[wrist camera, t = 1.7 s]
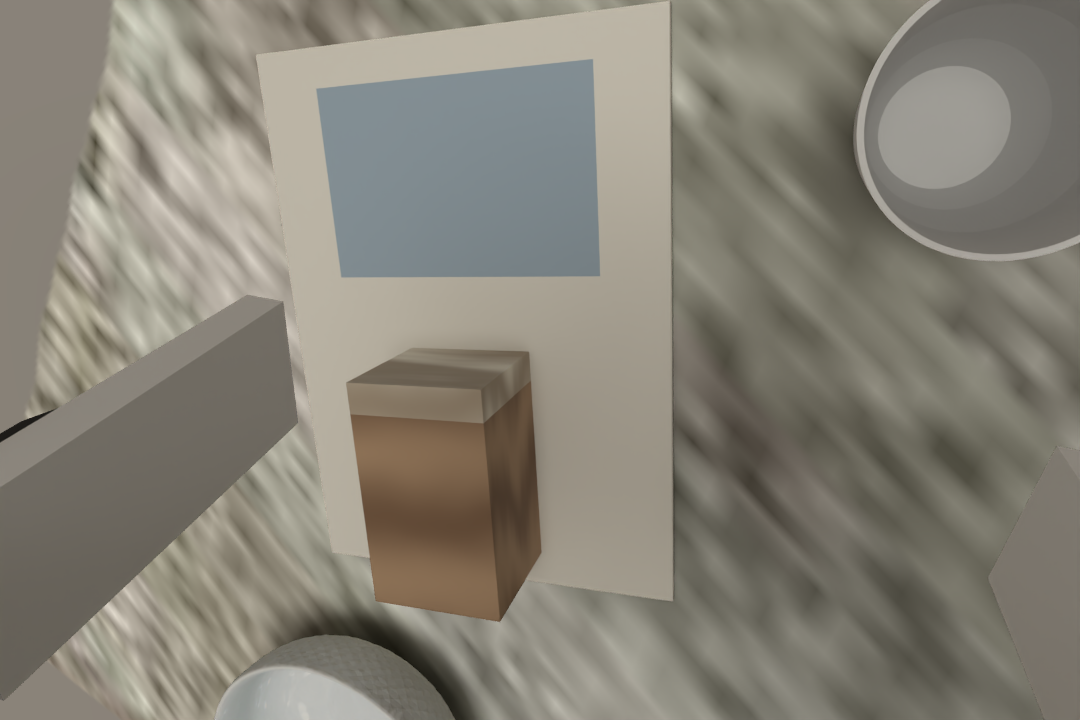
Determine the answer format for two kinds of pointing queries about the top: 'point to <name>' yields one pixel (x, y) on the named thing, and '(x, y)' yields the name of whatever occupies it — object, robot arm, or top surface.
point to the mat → (497, 254)
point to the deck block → (448, 478)
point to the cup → (977, 128)
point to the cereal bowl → (331, 685)
